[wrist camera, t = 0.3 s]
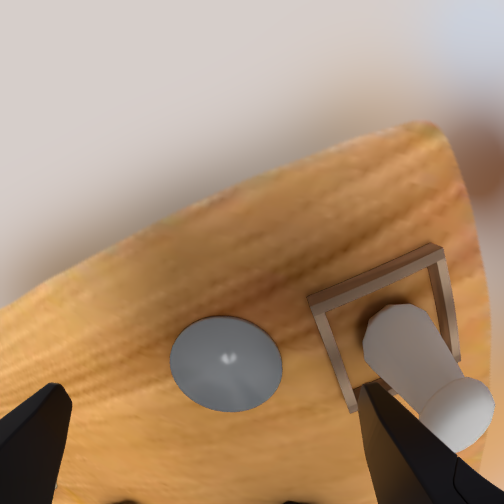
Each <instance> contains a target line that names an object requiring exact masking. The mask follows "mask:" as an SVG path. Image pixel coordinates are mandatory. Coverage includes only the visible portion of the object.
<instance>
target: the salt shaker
mask: <svg viewBox="0 0 504 504" xmlns="http://www.w3.org/2000/svg"><path fill="white" fill-rule="evenodd" d="M363 351H364V359H365V361H366V362H367V364H368V365H369V366H370V367H371V368H372V369H373V370H374V371H375V372H376V373H377V374H378V375H379V376H380V377H381V378H382V379H383V380H384V381H385V382H386V383H388V384H389V385H390V386H391V387H392V388H393V389H394V390H395V391H396V392H397V393H398V394H399V395H400V396H401V397H402V398H403V399H404V400H405V401H406V402H407V403H408V404H409V405H410V406H411V407H412V408H413V409H414V410H415V411H416V412H417V413H418V414H419V421H420V422H422V423H423V424H424V425H425V426H426V427H427V428H428V429H429V430H430V431H431V432H432V433H434V434H435V435H436V436H437V437H438V438H439V439H440V440H441V441H442V442H443V443H444V444H446V445H447V446H448V447H449V448H450V449H451V450H452V451H453V452H454V453H456V452H459V451H462V450H464V449H465V448H467V447H468V446H470V445H472V444H473V443H474V442H475V441H476V440H477V439H478V438H479V437H480V436H481V435H482V434H483V433H484V432H485V431H486V429H487V427H488V426H489V424H490V423H491V420H492V416H493V412H494V408H495V403H494V400H493V397H492V395H491V393H490V391H489V389H488V387H487V386H485V385H484V384H483V383H482V382H481V381H478V380H476V379H473V378H470V377H464V375H463V373H462V371H461V369H460V368H459V366H458V364H457V362H456V361H455V359H454V357H453V355H452V354H451V352H450V350H449V348H448V347H447V345H446V343H445V342H444V340H443V338H442V337H441V335H440V333H439V332H438V330H437V328H436V327H435V325H434V324H433V322H432V320H431V319H430V317H429V316H428V314H427V313H426V311H424V310H422V309H420V308H418V307H416V306H414V305H412V304H398V305H386V306H385V307H383V308H382V309H381V310H380V311H379V312H377V313H376V314H375V315H374V316H372V317H371V318H370V319H369V321H368V327H367V330H366V333H365V336H364V339H363Z"/></svg>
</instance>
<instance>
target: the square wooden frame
mask: <svg viewBox="0 0 504 504" xmlns="http://www.w3.org/2000/svg"><path fill="white" fill-rule="evenodd" d="M426 267H428V271H429V275H430V279H431V284H432V288H433V293H434V298H435V303H436V309H437V314H438V320H439V326H440V332H441V337H442V338H443V340H444V342H445V343H446V345H447V347H448V348H449V350H450V352H451V354H452V355H453V357H454V359H455V361H456V362H457V363H458V362H460V361H461V355H460V345H459V335H458V327H457V320H456V313H455V306H454V300H453V294H452V288H451V283H450V277H449V272H448V268H447V263H446V258H445V254H444V249H443V247H440V246H438V245H435V244H433V243H429V244H427V245H425V246H422V247H420V248H418V249H416V250H414V251H412V252H410V253H407V254H405V255H403V256H401V257H399V258H397V259H394V260H392V261H390V262H388V263H385V264H383V265H381V266H379V267H376V268H374V269H372V270H370V271H367V272H365V273H363V274H360V275H358V276H356V277H353V278H351V279H349V280H346V281H344V282H342V283H339V284H337V285H334V286H332V287H330V288H327V289H325V290H322V291H320V292H317V293H315V294H313V295H310V296H308V297H307V300H308V303H309V306H310V309H311V311H312V314H313V316H314V319H315V321H316V324H317V326H318V329H319V332H320V334H321V337H322V339H323V342H324V345H325V347H326V350H327V352H328V355H329V358H330V360H331V363H332V366H333V368H334V371H335V374H336V376H337V379H338V382H339V384H340V387H341V390H342V393H343V395H344V398H345V401H346V404H347V406H348V409H349V412H350V413H353V412H356V411H358V399H359V395H360V391H361V387H362V386H361V387H358V388H356V389H354V390H352V387H351V384H350V381H349V379H348V376H347V373H346V370H345V367H344V364H343V361H342V359H341V356H340V353H339V350H338V347H337V345H336V342H335V339H334V336H333V334H332V331H331V328H330V325H329V323H328V320H327V317H326V315H325V312H327V311H330V310H332V309H334V308H337V307H339V306H342V305H344V304H346V303H349V302H351V301H353V300H356V299H358V298H360V297H363V296H365V295H367V294H370V293H372V292H374V291H376V290H379V289H381V288H383V287H385V286H387V285H390V284H392V283H394V282H396V281H398V280H400V279H403V278H405V277H407V276H409V275H411V274H413V273H415V272H417V271H419V270H422V269H424V268H426ZM373 382H378V383H379V384H380V385H381V386H383V387H384V388H385V389H386V390H387V391H388V392H389V393H390V394H391V395H392V396H394V395H396V394H398V393H397V392H396V391H395V390H394V389H393V388H392V387H391V386H390V385H389V384H388V383H386V382H385V381H384V380H383V379H382V378H380V379H377V380H375V381H373Z"/></svg>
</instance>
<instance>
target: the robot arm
mask: <svg viewBox="0 0 504 504" xmlns="http://www.w3.org/2000/svg"><path fill="white" fill-rule="evenodd" d="M71 411H72V401H71V399H70V397H69V396H68V394H67V392H66V391H65V389H64V387H63V386H62V385H61V384H59V383H52V382H51V383H48V384H47V385H46V386H44V387H43V388H42V389H40V390H39V391H38V392H36V393H35V394H33V395H32V396H31V397H29V398H28V399H27V400H25V401H24V402H23V403H21V404H20V405H19V406H17V407H16V408H15V409H13V410H12V411H11V412H9V413H8V414H7V415H6V416H4V417H3V418H2V419H0V504H52V500H53V495H54V490H55V486H56V481H57V477H58V473H59V469H60V465H61V461H62V457H63V453H64V449H65V445H66V439H67V433H68V427H69V422H70V416H71ZM358 413H359V419H360V425H361V431H362V438H363V445H364V451H365V456H366V460H367V464H368V467H369V471H370V475H371V479H372V482H373V486H374V490H375V494H376V497H377V501H378V504H504V491H502V490H501V489H499V488H498V487H496V486H495V485H493V484H492V483H490V482H489V481H488V480H486V479H485V478H483V477H482V476H481V475H480V474H478V473H477V472H476V471H475V470H474V469H472V468H471V467H470V466H469V465H468V464H467V463H465V462H464V461H463V460H462V459H461V458H460V457H457V454H455V453H454V452H453V451H452V450H451V449H450V448H449V447H448V446H447V445H446V444H444V443H443V442H442V441H441V440H440V439H439V438H438V437H437V436H436V435H435V434H434V433H432V432H431V431H430V430H429V429H428V428H427V427H426V426H425V425H424V424H423V423H422V422H420V421H419V420H418V419H417V418H416V417H415V416H414V415H413V414H412V413H411V412H410V411H409V410H407V409H406V408H405V407H404V406H403V405H402V404H401V403H400V402H399V401H398V400H397V399H396V398H394V397H393V396H392V395H391V394H390V393H389V392H388V391H387V390H386V389H385V388H384V387H383V386H381V385H380V384H379V383H378V382H369V383H364V384H363V385H362V387H361V391H360V395H359V399H358ZM284 504H298V503H293V502H286V503H284Z"/></svg>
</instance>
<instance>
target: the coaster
mask: <svg viewBox="0 0 504 504" xmlns="http://www.w3.org/2000/svg"><path fill="white" fill-rule="evenodd" d="M170 368H171V372H172V375H173V378H174V380H175V382H176V383H177V385H178V386H179V388H180V389H181V390H182V391H183V392H184V394H185V395H187V396H188V397H189V398H190V399H191V400H193V401H195V402H196V403H198V404H200V405H202V406H204V407H206V408H209V409H212V410H216V411H222V412H239V411H245V410H249V409H252V408H255V407H257V406H259V405H261V404H262V403H264V402H265V401H267V400H268V399H269V398H270V397H271V396H272V395H273V394H274V392H275V391H276V389H277V388H278V386H279V383H280V381H281V377H282V359H281V355H280V352H279V349H278V347H277V345H276V344H275V342H274V341H273V339H272V338H271V337H270V336H269V335H268V334H267V333H266V332H265V331H264V330H263V329H261V328H260V327H258V326H257V325H255V324H253V323H251V322H249V321H247V320H244V319H241V318H237V317H231V316H212V317H207V318H204V319H201V320H198V321H196V322H194V323H192V324H191V325H189V326H188V327H186V328H185V329H184V330H183V331H182V332H181V334H180V335H179V336H178V338H177V339H176V341H175V343H174V345H173V347H172V350H171V354H170Z"/></svg>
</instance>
